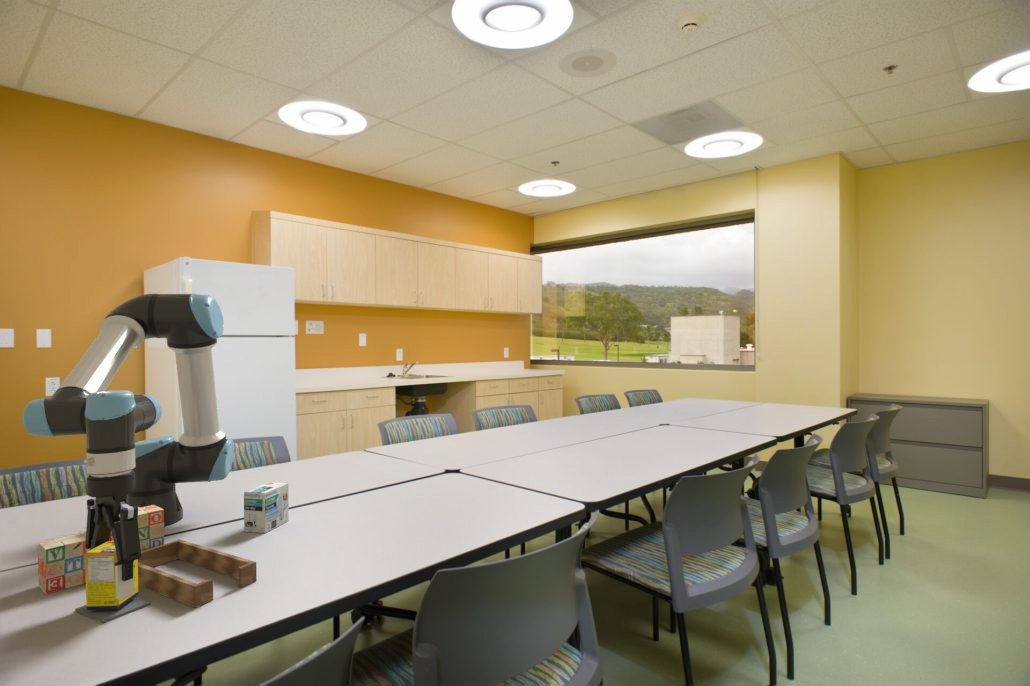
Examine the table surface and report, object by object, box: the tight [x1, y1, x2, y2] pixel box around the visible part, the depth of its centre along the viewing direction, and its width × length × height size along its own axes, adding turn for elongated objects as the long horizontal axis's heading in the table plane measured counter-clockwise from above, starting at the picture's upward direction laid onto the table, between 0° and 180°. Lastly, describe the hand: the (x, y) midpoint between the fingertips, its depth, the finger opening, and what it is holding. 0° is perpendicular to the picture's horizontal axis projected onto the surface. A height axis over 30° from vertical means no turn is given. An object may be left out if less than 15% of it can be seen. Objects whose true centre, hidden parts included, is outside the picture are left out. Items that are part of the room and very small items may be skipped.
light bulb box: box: [243, 481, 290, 534], centre depth 150 cm, size 11×7×11 cm, turn 168°
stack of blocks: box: [37, 505, 165, 595], centre depth 121 cm, size 21×6×12 cm, turn 141°
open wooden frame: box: [138, 539, 258, 608], centre depth 117 cm, size 28×13×4 cm, turn 61°
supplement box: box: [85, 541, 139, 610], centre depth 105 cm, size 6×6×11 cm
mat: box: [75, 596, 151, 625], centre depth 105 cm, size 10×8×1 cm
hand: (113, 591), depth 105 cm, fingers closed on supplement box, 8 cm apart
